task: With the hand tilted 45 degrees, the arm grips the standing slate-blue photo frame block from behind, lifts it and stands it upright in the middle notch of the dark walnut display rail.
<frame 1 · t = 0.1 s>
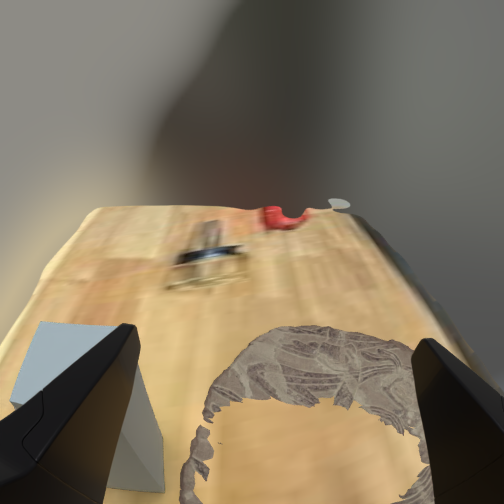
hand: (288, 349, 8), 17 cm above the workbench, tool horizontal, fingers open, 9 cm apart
frame block: (132, 462, 17), on the workbench
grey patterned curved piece: (357, 464, 19), on the workbench
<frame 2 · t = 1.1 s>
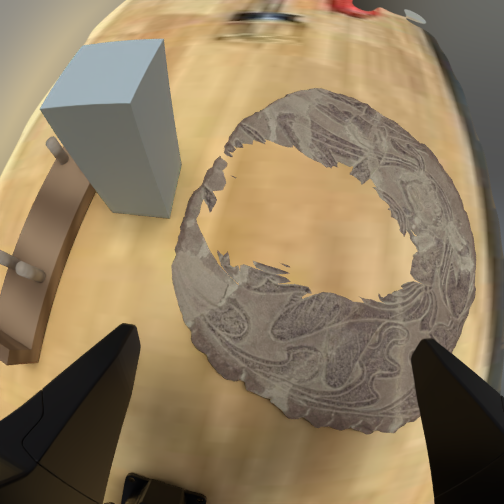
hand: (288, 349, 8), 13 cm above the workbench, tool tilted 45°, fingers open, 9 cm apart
frame block: (146, 187, 23), on the workbench
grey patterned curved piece: (353, 241, 25), on the workbench
display rail: (58, 220, 21), on the workbench
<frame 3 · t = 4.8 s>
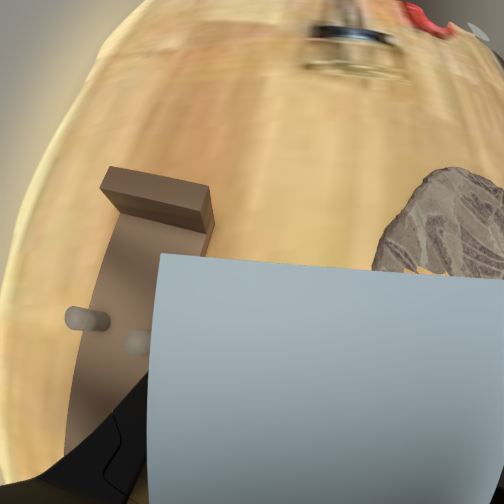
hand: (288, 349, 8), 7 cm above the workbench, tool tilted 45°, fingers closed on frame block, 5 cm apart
frame block: (263, 367, 15), on the workbench, touching gripper
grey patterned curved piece: (487, 378, 16), on the workbench
display rail: (118, 413, 13), on the workbench
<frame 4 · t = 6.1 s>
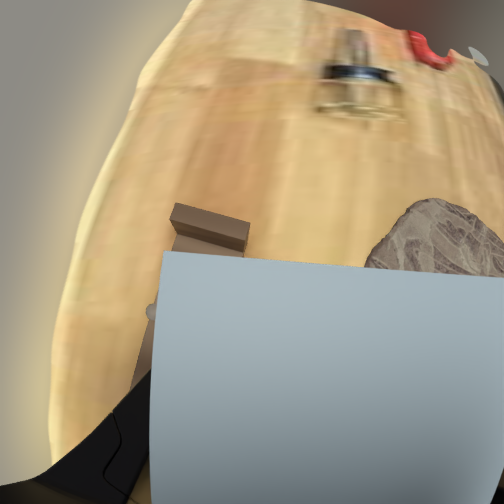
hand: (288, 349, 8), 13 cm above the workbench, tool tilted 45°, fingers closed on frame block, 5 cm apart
frame block: (263, 367, 15), point 6 cm above the workbench, touching gripper
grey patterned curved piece: (455, 369, 22), on the workbench
display rail: (170, 384, 20), on the workbench
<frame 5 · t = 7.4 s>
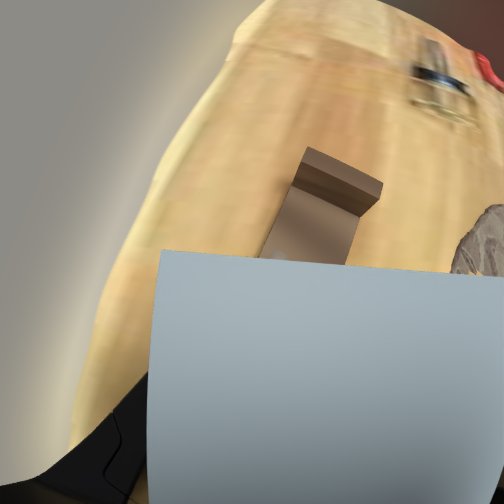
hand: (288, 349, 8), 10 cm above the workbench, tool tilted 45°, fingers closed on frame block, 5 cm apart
frame block: (263, 367, 15), point 3 cm above the workbench, touching gripper
display rail: (257, 359, 17), on the workbench
when the fingers open (10 cm above the workbench, at t = 7.8 s): frame block drops 1 cm, resting on display rail.
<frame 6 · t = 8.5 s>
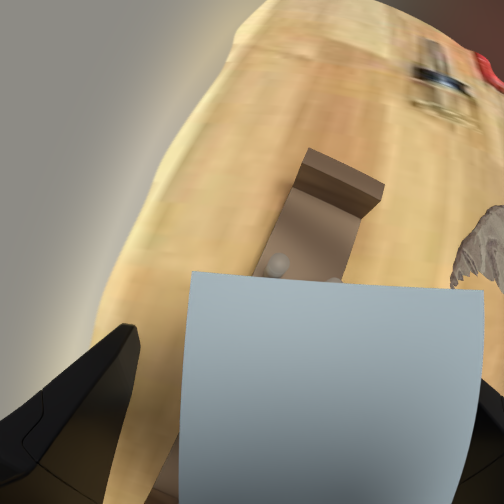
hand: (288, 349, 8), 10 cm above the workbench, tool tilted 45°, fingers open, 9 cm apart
frame block: (265, 363, 16), point 1 cm above the workbench, touching display rail
display rail: (258, 361, 17), on the workbench
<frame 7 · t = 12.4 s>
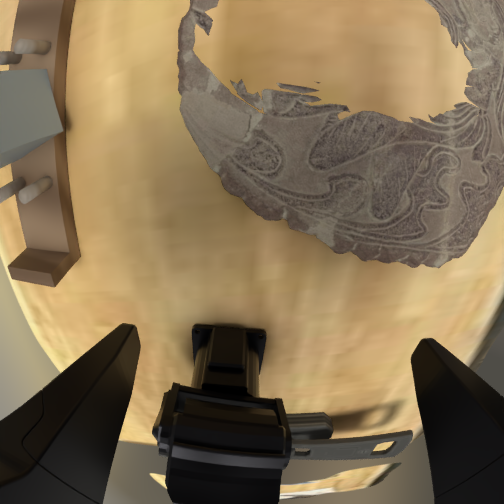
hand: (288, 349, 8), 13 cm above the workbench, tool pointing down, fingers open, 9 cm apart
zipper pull: (313, 422, 35), on the workbench
frame block: (30, 115, 15), point 1 cm above the workbench, touching display rail
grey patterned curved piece: (395, 48, 15), on the workbench
display rail: (40, 114, 16), on the workbench
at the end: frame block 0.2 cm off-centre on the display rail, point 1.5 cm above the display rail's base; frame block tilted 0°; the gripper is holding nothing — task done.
